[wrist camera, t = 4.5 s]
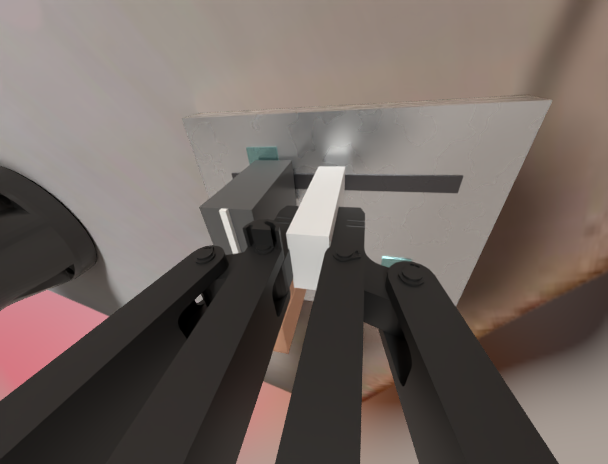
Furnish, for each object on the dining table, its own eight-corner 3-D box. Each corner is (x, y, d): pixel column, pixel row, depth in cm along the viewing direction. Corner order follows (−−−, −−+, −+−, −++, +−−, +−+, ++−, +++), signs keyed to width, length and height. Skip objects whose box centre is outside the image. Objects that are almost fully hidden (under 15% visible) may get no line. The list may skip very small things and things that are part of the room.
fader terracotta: (281, 282, 21) (253, 350, 16) (276, 257, 19) (244, 324, 14) (307, 285, 20) (287, 356, 15) (305, 260, 19) (281, 330, 14)
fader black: (263, 202, 16) (217, 263, 11) (255, 160, 15) (196, 209, 10) (296, 204, 16) (262, 268, 11) (291, 160, 14) (249, 212, 9)
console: (249, 276, 25) (240, 292, 24) (200, 113, 16) (180, 118, 14) (443, 300, 21) (449, 321, 19) (528, 94, 12) (554, 100, 10)
